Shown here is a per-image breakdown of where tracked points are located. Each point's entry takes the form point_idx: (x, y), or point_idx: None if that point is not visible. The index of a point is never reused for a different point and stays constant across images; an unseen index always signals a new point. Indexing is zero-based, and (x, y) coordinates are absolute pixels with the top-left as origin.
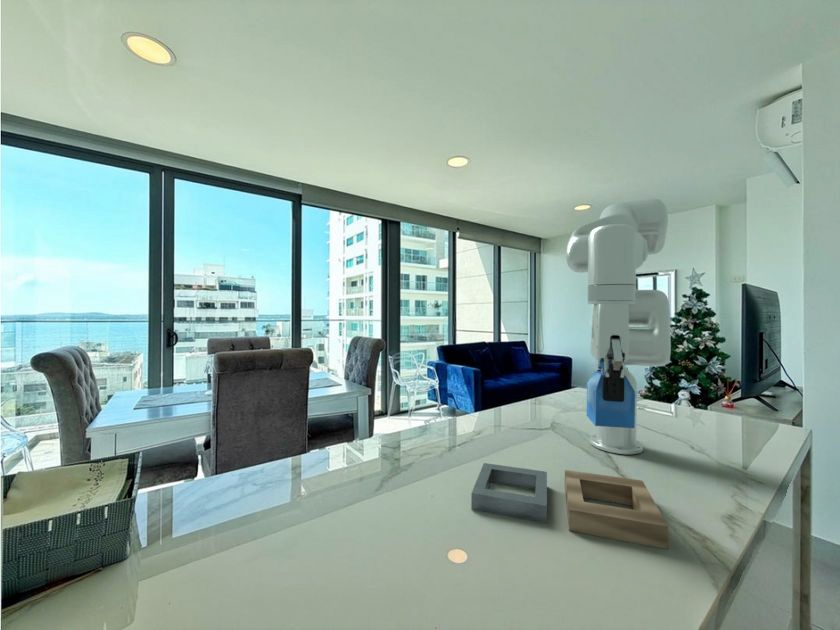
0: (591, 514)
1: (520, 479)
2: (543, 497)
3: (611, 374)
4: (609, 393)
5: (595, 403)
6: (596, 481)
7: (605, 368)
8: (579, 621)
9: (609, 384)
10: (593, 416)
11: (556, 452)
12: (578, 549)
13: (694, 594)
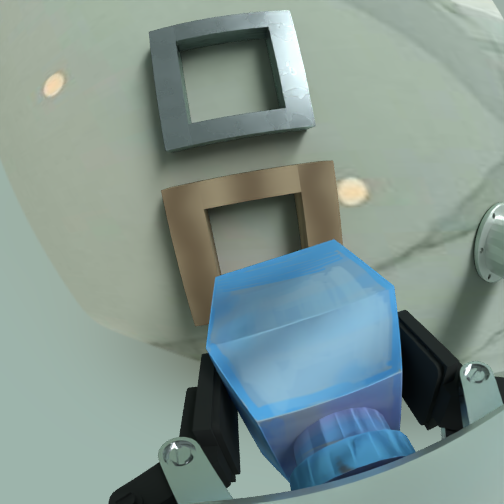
0: (169, 225)
1: (277, 81)
2: (194, 138)
3: (154, 471)
4: (186, 393)
5: (211, 313)
6: (305, 223)
7: (171, 481)
8: (32, 227)
9: (182, 424)
10: (241, 278)
11: (452, 142)
12: (130, 207)
13: (126, 324)
